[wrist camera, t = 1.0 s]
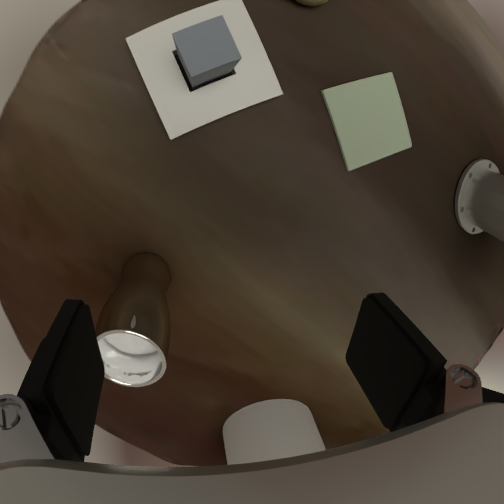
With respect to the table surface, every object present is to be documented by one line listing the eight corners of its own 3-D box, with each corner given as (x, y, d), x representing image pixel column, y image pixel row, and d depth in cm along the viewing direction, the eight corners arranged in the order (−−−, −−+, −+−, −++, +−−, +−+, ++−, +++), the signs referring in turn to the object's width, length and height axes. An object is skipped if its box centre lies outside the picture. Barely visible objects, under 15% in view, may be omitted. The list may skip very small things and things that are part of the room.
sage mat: (389, 72, 31) (391, 72, 31) (409, 146, 35) (412, 146, 35) (320, 90, 31) (322, 90, 31) (346, 170, 36) (348, 171, 35)
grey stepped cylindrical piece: (307, 438, 58) (347, 547, 33) (227, 452, 56) (249, 570, 31) (315, 390, 51) (374, 527, 26) (217, 407, 49) (242, 560, 23)
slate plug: (214, 43, 27) (222, 14, 18) (228, 75, 29) (241, 57, 20) (178, 57, 27) (171, 33, 18) (192, 89, 29) (191, 77, 20)
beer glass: (121, 244, 34) (85, 320, 21) (178, 254, 36) (173, 336, 23) (117, 294, 37) (90, 380, 24) (170, 303, 39) (165, 393, 25)
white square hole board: (235, 2, 25) (239, -6, 23) (276, 95, 31) (283, 94, 28) (130, 43, 26) (125, 38, 23) (172, 138, 31) (170, 140, 29)
